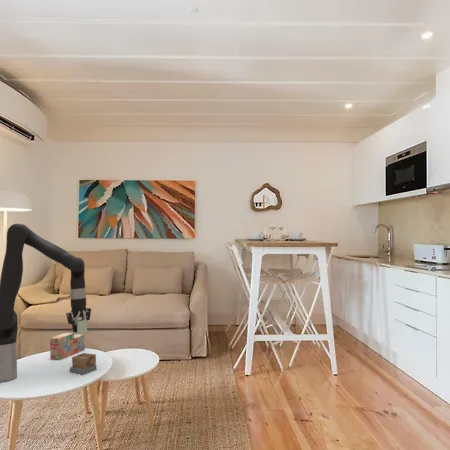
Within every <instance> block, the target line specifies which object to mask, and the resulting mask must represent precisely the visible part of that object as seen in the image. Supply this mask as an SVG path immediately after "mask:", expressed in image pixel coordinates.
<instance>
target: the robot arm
mask: <svg viewBox="0 0 450 450" xmlns="http://www.w3.org/2000/svg"><path fill="white" fill-rule="evenodd" d="M5 245H6V247H5V254H4V259H3V264H2V268H1V273H0V383H3V382H8V381H12V380H15V379H17V377H18V358H17V357H18V352H17V351H18V350H17V347H18V346H17V336H18V324H19V322H18V314H17V312H16V310H15V302H16V300H17V296H18V294H19V290H20V288H21V284H22V280H23V273H24V261H23V253H24V251H23V250H24V247H25V245H26V246H30V247H31V248H33V249H35V250H37V251H38V252H40V253H41V254H42V255H44V256H46V257H47V258H49V259H51V260H52V261H54V262H56V263H59V264H61V265H62V266H63V267H65V268H67V270H69V271H70V279H69V280H70V281H69V282H70V285H69V286H70V292H69V293H70V295H69V297H70V299H69V300H70V308H71V310H70V311H69V312H66V313H65V316H66V319H67V323H68V325H71V328H72V329H71V331H72V330H73V332H77V325H76V324H77V320H80V319H81V320H87V322H89V321H90V319H91V313H92V308H89V307H87V292H86V291H87V290H86V280H85V272H86V270H85V269H86V268H85V266H86V265H85V261H84V259H82V258H80V257H77V256H75V255H73V254H71V253H69V252H68V251H67V250H65V249H64V248H62V247H60V246H59V245H56V244H54V243H53V242H50V241H48V240H46V239H44V237H41V236H40V235H38V234H36V233H35V232H34V231H33V230H31V229H30V228H29V227H28V226H26V225H25V224H24V223H14V224H11V225H10V226H9V227H8V229H7V232H6V244H5Z"/></svg>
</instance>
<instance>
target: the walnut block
mask: <svg viewBox="0 0 450 450" xmlns="http://www.w3.org/2000/svg"><path fill="white" fill-rule="evenodd" d="M93 365H97V354H95V353H89V352H86V353H85V352H82V353H80V354H79V353H78V354H77V355H75V356H72V357H71V367H74V368H80V369H86V368H88V367H91V366H93Z"/></svg>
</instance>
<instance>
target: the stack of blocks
mask: <svg viewBox="0 0 450 450" xmlns="http://www.w3.org/2000/svg"><path fill="white" fill-rule="evenodd" d="M49 341H50V343H49V349H50V360H51V361H61V360H64V359H66V358H70V357H71V356H73V355H76V354H79V353H80V352H82V351H85V334H83V333H82V334H74V333H72V332H63V333H61V334H57V335H54V336H52V337H50V338H49Z"/></svg>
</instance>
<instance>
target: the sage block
mask: <svg viewBox="0 0 450 450" xmlns="http://www.w3.org/2000/svg"><path fill="white" fill-rule="evenodd" d="M87 322H88V321H87V320H81V318H79V319H78V320H77V324H76V325H77V332H73V330H72V329H71V331H72V332H71V333H74V335H75V334H82V335H83V334H85V333H87V332H88V323H87Z"/></svg>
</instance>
